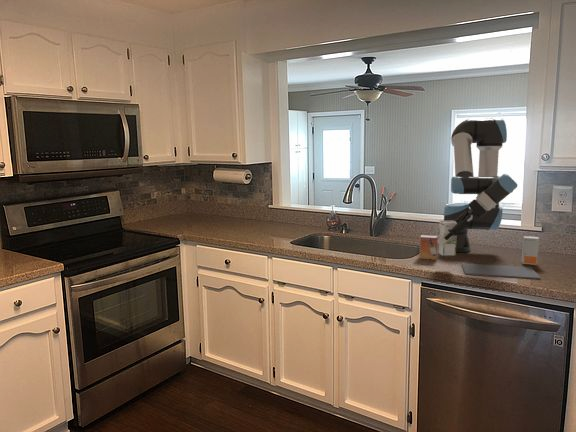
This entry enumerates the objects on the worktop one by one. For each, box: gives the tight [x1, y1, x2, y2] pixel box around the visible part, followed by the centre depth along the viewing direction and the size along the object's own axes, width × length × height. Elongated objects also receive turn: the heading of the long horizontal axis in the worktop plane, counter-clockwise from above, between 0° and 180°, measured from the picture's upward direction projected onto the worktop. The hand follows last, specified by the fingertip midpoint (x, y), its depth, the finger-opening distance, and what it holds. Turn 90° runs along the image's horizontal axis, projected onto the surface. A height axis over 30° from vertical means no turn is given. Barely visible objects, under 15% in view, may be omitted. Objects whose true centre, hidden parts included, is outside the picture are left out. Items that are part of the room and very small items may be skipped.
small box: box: [418, 234, 439, 261], centre depth 219 cm, size 8×6×10 cm
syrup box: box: [438, 220, 457, 257], centre depth 199 cm, size 6×6×14 cm
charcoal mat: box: [461, 263, 542, 280], centre depth 196 cm, size 16×28×1 cm, turn 74°
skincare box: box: [520, 235, 540, 266], centre depth 207 cm, size 6×4×12 cm
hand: (438, 241), depth 200 cm, fingers closed on syrup box, 7 cm apart
